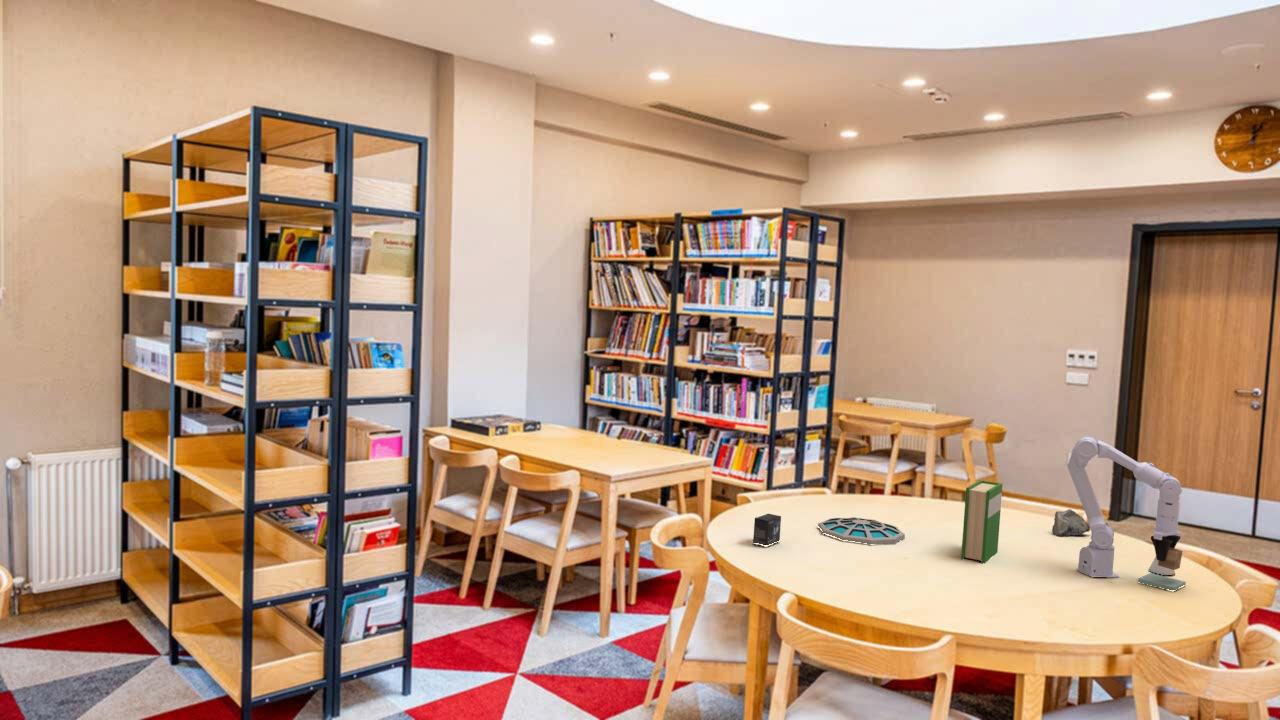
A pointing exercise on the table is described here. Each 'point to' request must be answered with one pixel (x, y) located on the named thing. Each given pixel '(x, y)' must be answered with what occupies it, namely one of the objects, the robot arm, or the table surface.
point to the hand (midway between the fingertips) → (1163, 559)
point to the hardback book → (981, 520)
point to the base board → (1161, 581)
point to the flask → (1160, 568)
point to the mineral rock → (1069, 524)
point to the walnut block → (1172, 559)
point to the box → (767, 529)
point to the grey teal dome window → (862, 530)
